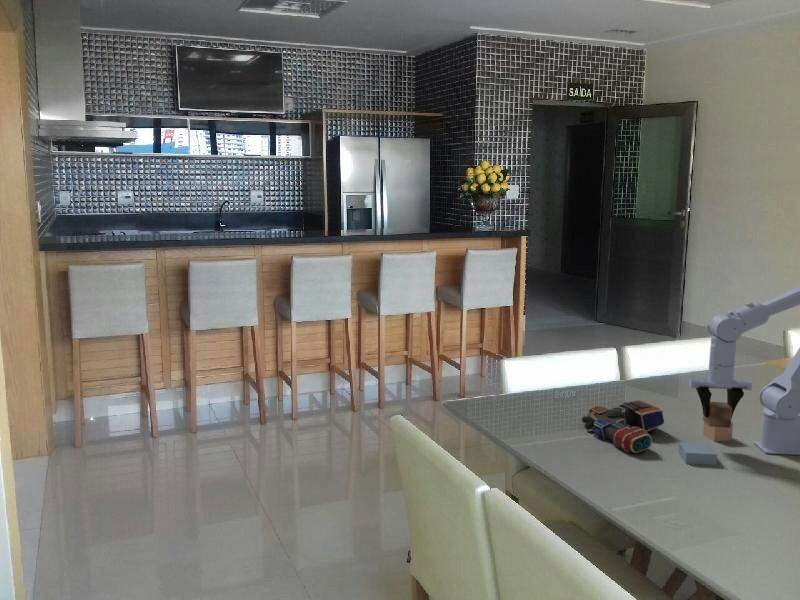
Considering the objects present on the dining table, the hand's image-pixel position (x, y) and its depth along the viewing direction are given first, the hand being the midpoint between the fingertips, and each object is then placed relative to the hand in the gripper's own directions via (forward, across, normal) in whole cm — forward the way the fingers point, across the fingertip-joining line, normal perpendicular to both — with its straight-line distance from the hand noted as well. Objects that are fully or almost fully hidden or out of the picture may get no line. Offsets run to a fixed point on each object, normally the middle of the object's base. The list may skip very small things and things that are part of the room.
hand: (717, 416), depth 179 cm
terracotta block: (+8, -3, -8) cm, 12 cm away
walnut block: (+2, 0, 0) cm, 2 cm away
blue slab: (+9, +7, +8) cm, 14 cm away
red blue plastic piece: (+9, +19, -7) cm, 22 cm away
